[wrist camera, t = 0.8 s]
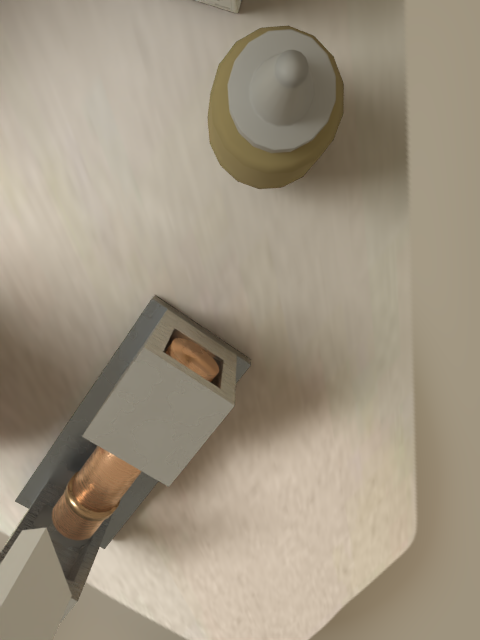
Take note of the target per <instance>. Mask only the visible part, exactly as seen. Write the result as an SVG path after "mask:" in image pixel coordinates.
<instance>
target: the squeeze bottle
mask: <svg viewBox="0 0 480 640" xmlns="http://www.w3.org/2000/svg"><path fill="white" fill-rule="evenodd" d="M343 93H344V84H343V81H342V78H341V76H340V73H339V70H338V67H337V65H336V62H335V59H334V57H333V56H332V55H331V53H330V52H329V51H328V50H327V49H326V48H325V47H324V46H323V45H322V44H321V43H320V42H319V41H318V40H317V39H316V37H315V36H313V35H310V34H308V33H305V32H303V31H300V30H298V29H295V28H293V27H290V26H279V27H266V28H260V29H258V30H256V31H255V32H253V33H251V34H249V35H248V36H246V37H244V38H242V39H241V40H239V41H237V42H236V43H235V44H234V46H233V47H232V48H231V50H230V51H229V52H228V54H227V55H226V56H225V58H224V59H223V60H222V62H221V63H220V64H219V66H218V69H217V73H216V76H215V80H214V83H213V87H212V90H211V94H210V102H209V110H208V128H209V140H210V145H211V147H212V149H213V151H214V153H215V155H216V157H217V159H218V161H219V163H220V165H221V166H222V167H223V168H224V169H225V170H226V171H227V172H228V173H229V174H230V175H231V176H232V177H234V178H235V179H236V180H237V181H238V182H241V183H244V184H247V185H249V186H252V187H255V188H258V189H266V188H281V187H284V186H286V185H288V184H290V183H292V182H294V181H295V180H297V179H299V178H301V177H303V176H304V175H305V174H306V172H307V171H308V170H309V169H310V168H311V167H312V166H313V164H314V163H315V162H316V161H317V160H318V159H319V158H320V156H321V155H322V154H323V152H324V151H325V150H326V149H327V147H328V146H329V145H330V143H331V142H332V141H333V139H334V137H335V134H336V131H337V129H338V126H339V123H340V121H341V118H342V115H343Z"/></svg>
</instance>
